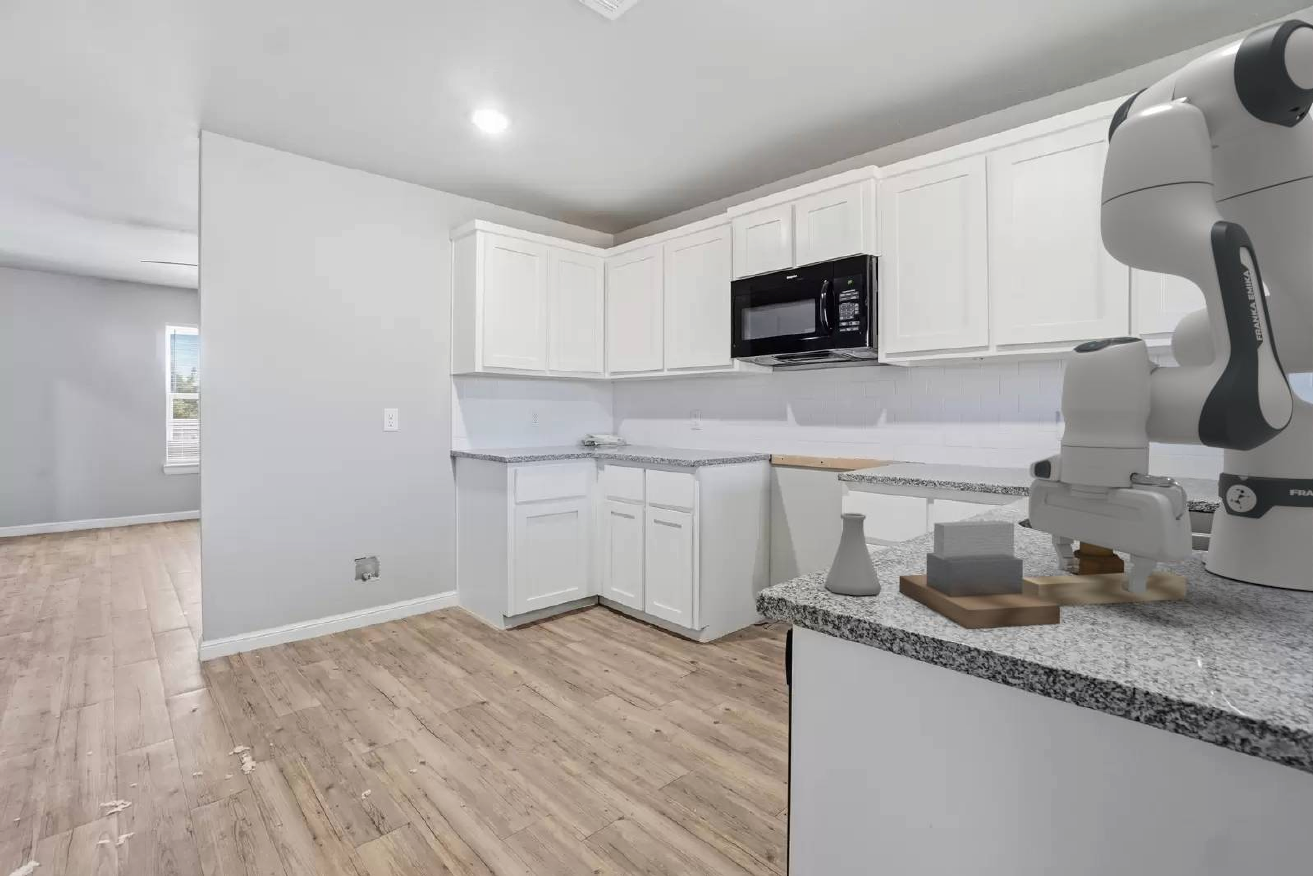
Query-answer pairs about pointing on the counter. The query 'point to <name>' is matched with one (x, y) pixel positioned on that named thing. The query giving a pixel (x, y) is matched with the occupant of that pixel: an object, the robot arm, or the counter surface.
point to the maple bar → (1104, 588)
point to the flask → (853, 561)
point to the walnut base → (983, 606)
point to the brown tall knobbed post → (1097, 560)
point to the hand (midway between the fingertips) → (1099, 581)
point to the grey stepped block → (974, 559)
